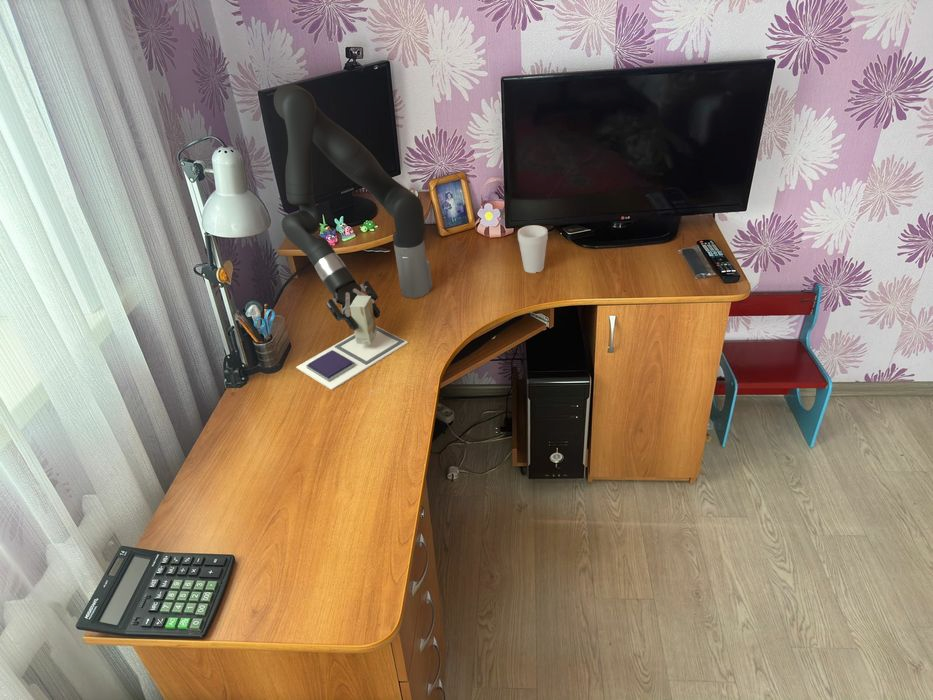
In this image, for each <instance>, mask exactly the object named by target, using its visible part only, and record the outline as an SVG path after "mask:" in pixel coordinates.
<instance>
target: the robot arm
mask: <svg viewBox="0 0 933 700" xmlns="http://www.w3.org/2000/svg"><path fill="white" fill-rule="evenodd" d="M273 105H274V108H275V111H276V113H277V114H278V115H279V117H281V119H283V120H284V123H285V127H286V133H287V145H288V146H287V155H286V156H287V157H286V164H285V171H284V172H285V175H284V176H285V192H286V193H285V194H286V199H287V202H288V203H289V204H291V205H295V206H298V207H299V210H298V211H295V212H291V213H288V214H286V215H285V216H283V218H282V220H281V229H282V232H283V234H284V235H285V237H286V238H287V239H288V240H289V241H290V242H291V243H292V244H294V246H296V247H297V249H298V250H300V251H301V252H302V253H303V254H305V255H306V257H307V258H308V259H309V262H310V263H311V265H312V266H313V267H314V268H315V271H316V272H317V274H318V276H319V278H320V280H321V281H322V283H324V285H325V286H326V288H327V289H328V291H329V292H330V294H331V295H332V296H333V298H332V299H331V298H329V299H328V300H327V302H326V303H325V304H326V307H327V308H328V310H329V311H330V313H331V314H332V316H333V317H334V319H335V320H336V321H338V322H340V321H345V322H346V324H347V326H348V327H349V328H350V330H352V331H355V330H357V329H358V325H357V324H356V322H355V321H354V319H353V318H352V316H351V310H350V305H351V304H352V302H353V300H354V299H355V297H356V296H371V300H372V306H373V312H374V318H375V319H378V318H380V316H381V310H380V309H379V307H378V306H377V305H376V301H377V300H378V299H379V296H378V294H377V293H376V291H375V289H374V288H373V286H372V285H371V284H370V282H369V281H368V280H365V281H364V282H363V283H361V284H359V283H357V281H356V279H355V277H354V276H353V275H352V273H351V271H350V270H349V269H348V267H347V265H346V264H345V263H344V261H343V260H342V258H341V257H340V256H339V255H338V254H337V252H336V251H335V249H334V248H333V247H332V245H331V244H330V242H329V241H328V239H326V238H325V237H319V236H318V237H316V236H313V235H315V234H316V233H317V232H318V230H319V228H320V226H321V225H320V224H321V218H320V214H319V211H318V209H317V204H316V201H315V197H314V189H313V188H314V187H313V186H314V185H313V183H314V182H313V181H314V180H313V162H312V161H313V143H314V145H315V146H316V148H318V149H319V150H320V151H321V153H323V154H324V155H325V157H326V158H327V159H328V160H329V161H330V162H331V163H332V164H333V165H334V166H335V167H336V168H337V169H338V170H339V171H341V173H343V174H344V175H345V176H347V178H349V179H350V180H351V181H352V182H354V183H355V184H357V185H359V186H360V187H362V188H363V189H365V190H367V191H368V192H369V193H370V194H371V195H372V196H373V197H374V198H375V199H376V200H377V201H378V203H380V204H381V206H382V207H383V208H384V209H385V210H386V212H387V214H389V216H391V217H392V218H393V221H394V229H395V231H394V233H393V234H392V242H393V248H394V255H395V261H396V262H395V263H396V267H397V274H398V279H399V280H398V281H399V286H400V292H401V295H402V296H403V297H406V298H409V299H416V298H421V297H425V296H426V295H428V294H429V293H430V292H431V289H433V280H432V274H431V273H432V272H431V265H430V260H428V259H427V253H426V246H425V238H424V235H425V232H426V231H425V229H426V228H425V227H426V226H425V216H424V215H425V214H424V206H423V203H422V201H421V199H420V198H419V197H418V196H417V195H416V194H415V193H414V192H413V191H412V190H410V189H408V188H406V187H405V186H404V185H402V184H401V183H400V182H398V181H397V180H395V179H394V178H393V177H392V176H390V175H389V173H387V172H386V171H385V170H384V168H383V167H382V166H381V164H380V163H379V161H378V160H377V159H376V157H375V156H374V154H372V153H371V151H370V150H368V148H367V147H365V145H363V144H362V143H361V142H360V141H359V140H358V139H357V138H356V137H354V136H353V135H352V134H351V133H349V131H347V130H345V129H344V128H343V127H341V126H340V125H339V124H337V122H334V121H333V120H332V119H330V118H329V117H328V116H327V115H326V114H325V113H323V111H322V110H321V109H320V107H318V106H317V103H316V101H315V98H314V96H313V95H312V93H310V92H309V91H308V90H306V89H305V88H303V87H302V86H300V85H297V84H293V83H292V84H291V83H288V84H283V85H281V86H279V87H278V88H277V89H276V90H275V92H274V94H273ZM362 291H363V292H365V293H363V292H362ZM338 304H339V305H341V310H340V309H339V307H338V306H337V305H338Z"/></svg>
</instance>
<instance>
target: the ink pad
mask: <svg viewBox="0 0 933 700" xmlns="http://www.w3.org/2000/svg"><path fill="white" fill-rule="evenodd" d="M306 366H307V369H309V370H311V371H312V372H314V373H315V374H317V375H319V376H320V377H322V378H323V379H325V380H327V381H328V382H330V381H332V380H333V379H335V378H337V377H338V376H340V375H342V374H343V373H345V372H347V371H348V370H350V369H351V368H353V367H355V366H356V365H355V363H354V362H353V361H351V360H349V359H347V358H346V357H344V356H342V355H340V354H339V353H337V352H335V351H333V350H331V351H330V352H328V353H326V354H324V355H323V356H321V357H319V358H317V359H316V360H314V361H312V362H310V363H309V364H308V365H306Z"/></svg>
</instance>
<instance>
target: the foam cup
mask: <svg viewBox="0 0 933 700" xmlns="http://www.w3.org/2000/svg"><path fill="white" fill-rule="evenodd" d="M548 234H549V233H548V229H547V227H545V226H541V225H538V224H537V225H535V224H533V225H525V226H523V227H521V228H519V229H518V230H517V241H518V244H519V250H520V253H521V254H520V255H521V260H522V265H523V270H524V271H525V272H527V273H529V274H535V273H536V272H538V273H540V272H542V271H544V267H545V260H546V259H545V258H546V251H547V241H548V236H549V235H548ZM536 274H537V273H536Z"/></svg>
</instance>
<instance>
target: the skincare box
mask: <svg viewBox="0 0 933 700" xmlns="http://www.w3.org/2000/svg"><path fill="white" fill-rule="evenodd" d="M350 316H352V318H353V319H354V321H355V322H356V324H357V325H358V329H357V330H355V331H354V330H353V331H354V334H355V338H356V343H357V344H371V343H372V341H373V340H374V338H375V336H376V334H377V330H376V326H377V325H376V320H375V319H376V318H375V316H374V312H373V306H372V300H371V296H368V295H367V296H356V297H355V299H354V300H353V302H352V304H351V305H350Z"/></svg>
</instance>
